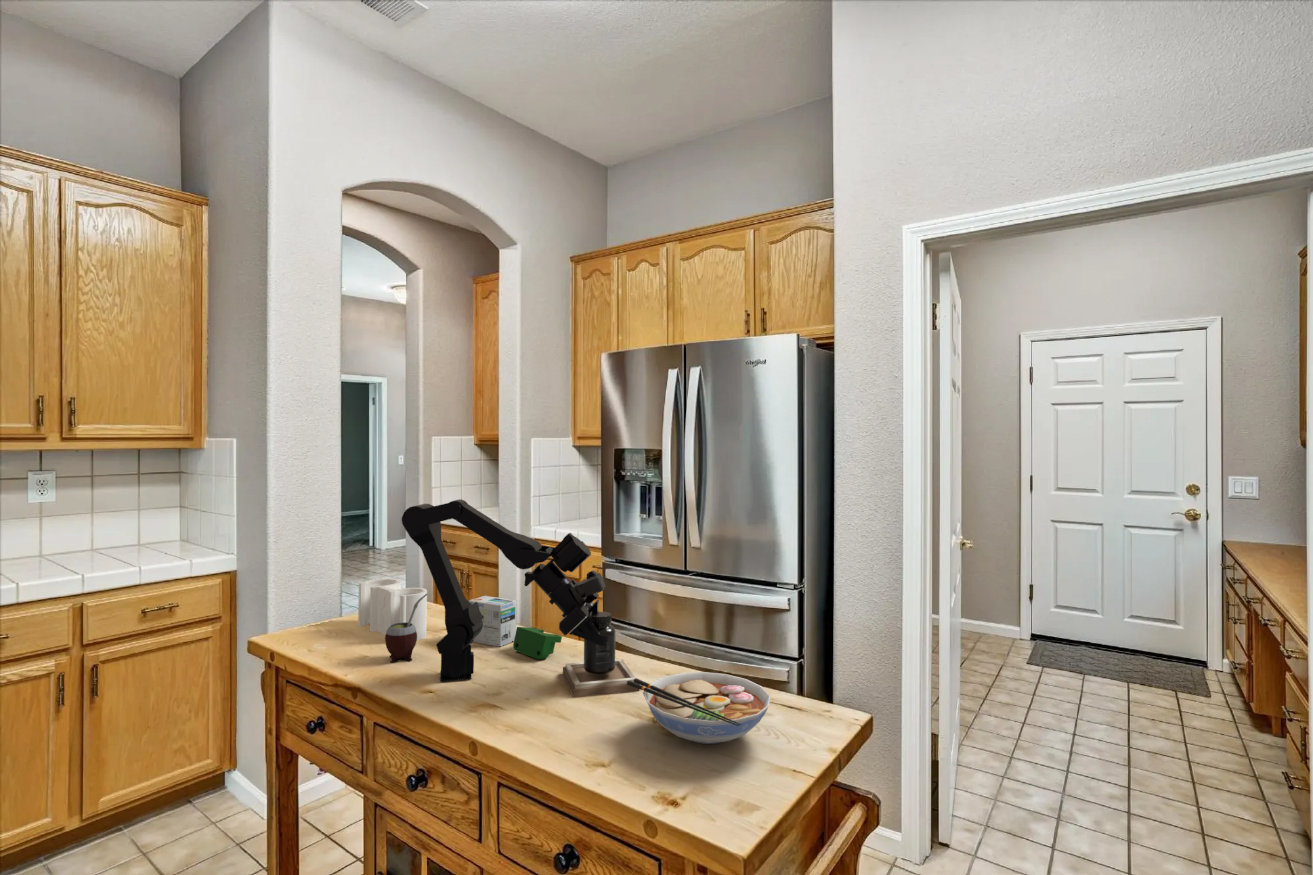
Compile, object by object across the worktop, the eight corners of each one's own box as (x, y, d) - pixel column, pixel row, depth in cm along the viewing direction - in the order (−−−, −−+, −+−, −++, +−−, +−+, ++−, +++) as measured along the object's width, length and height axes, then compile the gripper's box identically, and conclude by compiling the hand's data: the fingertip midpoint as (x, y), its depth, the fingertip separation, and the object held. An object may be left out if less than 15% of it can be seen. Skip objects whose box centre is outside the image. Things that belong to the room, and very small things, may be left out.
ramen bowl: (801, 739, 116) (802, 693, 116) (717, 784, 100) (718, 731, 100) (697, 698, 134) (697, 658, 134) (612, 731, 118) (612, 685, 118)
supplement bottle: (619, 666, 144) (620, 611, 144) (608, 676, 138) (610, 619, 138) (590, 662, 146) (591, 608, 146) (578, 672, 140) (579, 616, 140)
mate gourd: (378, 661, 152) (379, 597, 152) (402, 651, 160) (403, 590, 160) (403, 666, 150) (404, 600, 150) (427, 655, 157) (428, 593, 157)
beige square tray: (573, 697, 133) (573, 685, 133) (562, 673, 147) (562, 663, 147) (639, 690, 137) (639, 679, 137) (623, 668, 151) (623, 658, 151)
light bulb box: (517, 640, 170) (517, 599, 170) (500, 647, 164) (501, 604, 164) (484, 634, 175) (485, 594, 175) (467, 641, 169) (468, 599, 169)
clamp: (551, 673, 159) (568, 641, 158) (532, 673, 155) (549, 640, 154) (527, 643, 167) (543, 612, 167) (508, 642, 163) (524, 611, 162)
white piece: (435, 636, 172) (435, 591, 173) (399, 645, 165) (400, 597, 165) (389, 618, 189) (390, 576, 189) (355, 625, 182) (356, 581, 182)
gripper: (576, 569, 133) (628, 626, 132) (590, 554, 152) (636, 603, 151) (537, 606, 133) (589, 663, 133) (556, 586, 152) (601, 636, 151)
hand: (606, 639), depth 142 cm, fingers closed on supplement bottle, 7 cm apart
